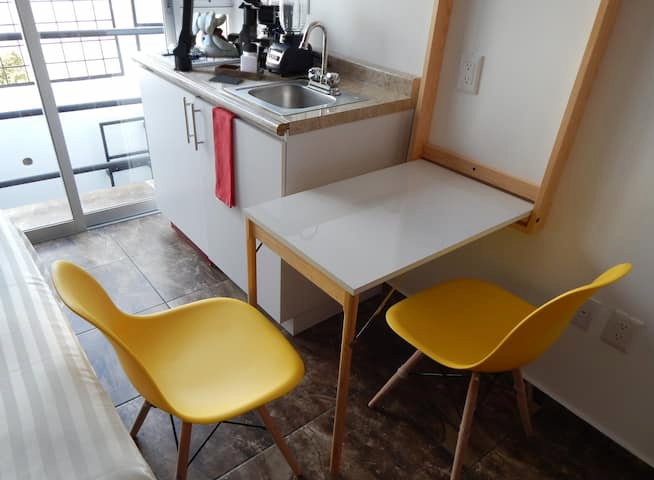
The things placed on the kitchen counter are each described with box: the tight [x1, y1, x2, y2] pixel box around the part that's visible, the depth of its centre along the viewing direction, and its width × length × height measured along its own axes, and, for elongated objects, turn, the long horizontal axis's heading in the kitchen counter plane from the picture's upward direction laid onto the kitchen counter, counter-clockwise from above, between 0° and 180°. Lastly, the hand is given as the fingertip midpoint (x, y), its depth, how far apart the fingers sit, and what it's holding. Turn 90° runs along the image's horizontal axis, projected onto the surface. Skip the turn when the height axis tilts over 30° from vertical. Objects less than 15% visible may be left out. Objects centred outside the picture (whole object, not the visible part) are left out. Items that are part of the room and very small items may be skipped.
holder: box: [214, 63, 265, 81], centre depth 213 cm, size 19×10×3 cm, turn 78°
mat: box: [208, 75, 244, 85], centre depth 205 cm, size 12×9×1 cm
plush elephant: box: [191, 10, 240, 58], centre depth 239 cm, size 27×22×21 cm
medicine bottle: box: [240, 42, 260, 73], centre depth 209 cm, size 7×7×12 cm
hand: (250, 61), depth 210 cm, fingers closed on medicine bottle, 7 cm apart
